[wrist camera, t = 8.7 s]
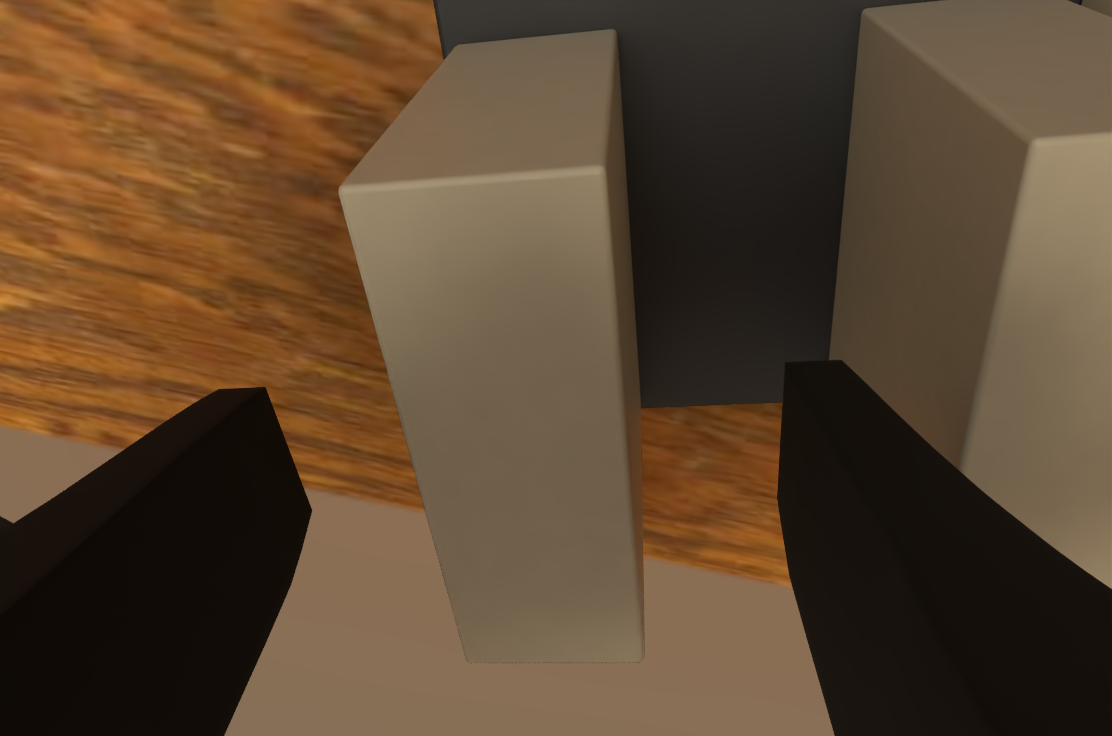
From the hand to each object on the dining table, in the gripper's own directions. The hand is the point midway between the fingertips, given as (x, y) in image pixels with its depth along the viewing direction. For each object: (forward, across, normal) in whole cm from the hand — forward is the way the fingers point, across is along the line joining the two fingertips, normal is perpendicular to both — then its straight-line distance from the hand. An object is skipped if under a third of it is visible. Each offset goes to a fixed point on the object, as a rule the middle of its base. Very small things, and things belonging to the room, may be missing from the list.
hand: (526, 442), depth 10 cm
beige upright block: (+6, -6, 0) cm, 9 cm away
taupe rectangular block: (+5, 0, 0) cm, 5 cm away
